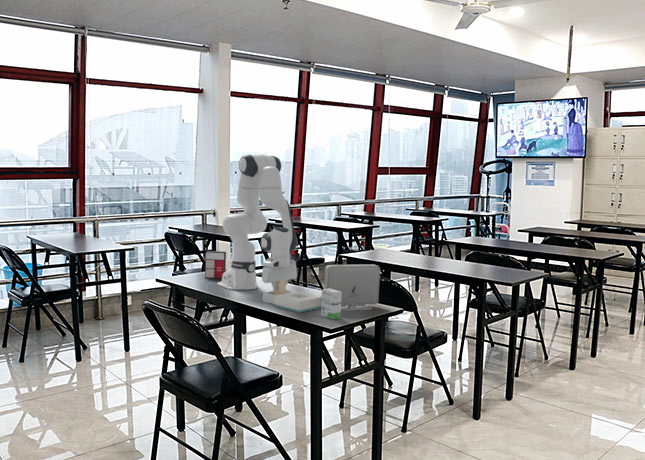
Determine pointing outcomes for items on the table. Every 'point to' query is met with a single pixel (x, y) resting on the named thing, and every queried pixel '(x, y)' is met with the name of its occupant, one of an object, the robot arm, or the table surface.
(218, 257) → the red and grey box
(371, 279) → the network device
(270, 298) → the holster
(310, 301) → the block
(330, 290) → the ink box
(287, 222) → the robot arm
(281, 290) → the plug
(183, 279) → the table surface
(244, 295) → the table surface
